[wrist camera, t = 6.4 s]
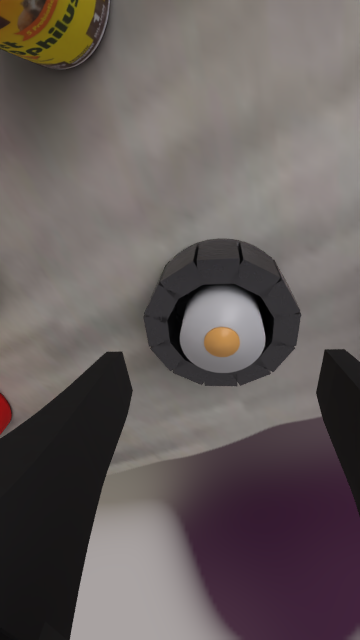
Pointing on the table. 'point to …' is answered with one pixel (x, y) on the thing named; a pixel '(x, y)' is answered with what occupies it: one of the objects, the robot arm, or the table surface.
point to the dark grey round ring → (222, 268)
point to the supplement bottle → (52, 30)
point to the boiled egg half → (222, 328)
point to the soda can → (4, 413)
